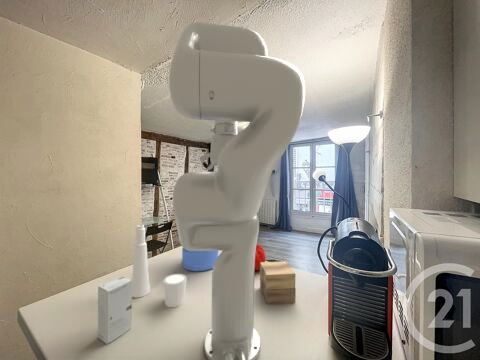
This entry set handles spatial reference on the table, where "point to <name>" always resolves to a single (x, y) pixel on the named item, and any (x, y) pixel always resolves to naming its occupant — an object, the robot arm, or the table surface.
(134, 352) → the table surface
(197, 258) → the water jug
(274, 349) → the table surface
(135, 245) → the cosmetic bottle
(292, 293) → the tower base block
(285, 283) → the tower top block
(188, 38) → the robot arm
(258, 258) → the tomato
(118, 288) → the skincare box
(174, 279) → the white cup
